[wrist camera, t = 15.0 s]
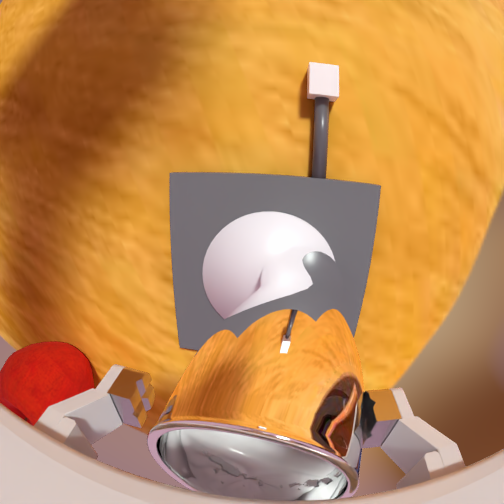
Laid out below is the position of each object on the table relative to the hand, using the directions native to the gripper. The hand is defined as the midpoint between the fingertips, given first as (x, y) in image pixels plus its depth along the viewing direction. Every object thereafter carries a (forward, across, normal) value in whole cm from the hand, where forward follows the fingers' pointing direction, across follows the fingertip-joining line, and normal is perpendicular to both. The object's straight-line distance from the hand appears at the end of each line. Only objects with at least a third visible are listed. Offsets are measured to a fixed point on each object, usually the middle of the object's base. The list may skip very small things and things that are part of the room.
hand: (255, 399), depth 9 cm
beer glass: (+12, -2, 0) cm, 12 cm away
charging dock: (+13, 0, -4) cm, 14 cm away
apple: (+13, +23, +14) cm, 30 cm away
